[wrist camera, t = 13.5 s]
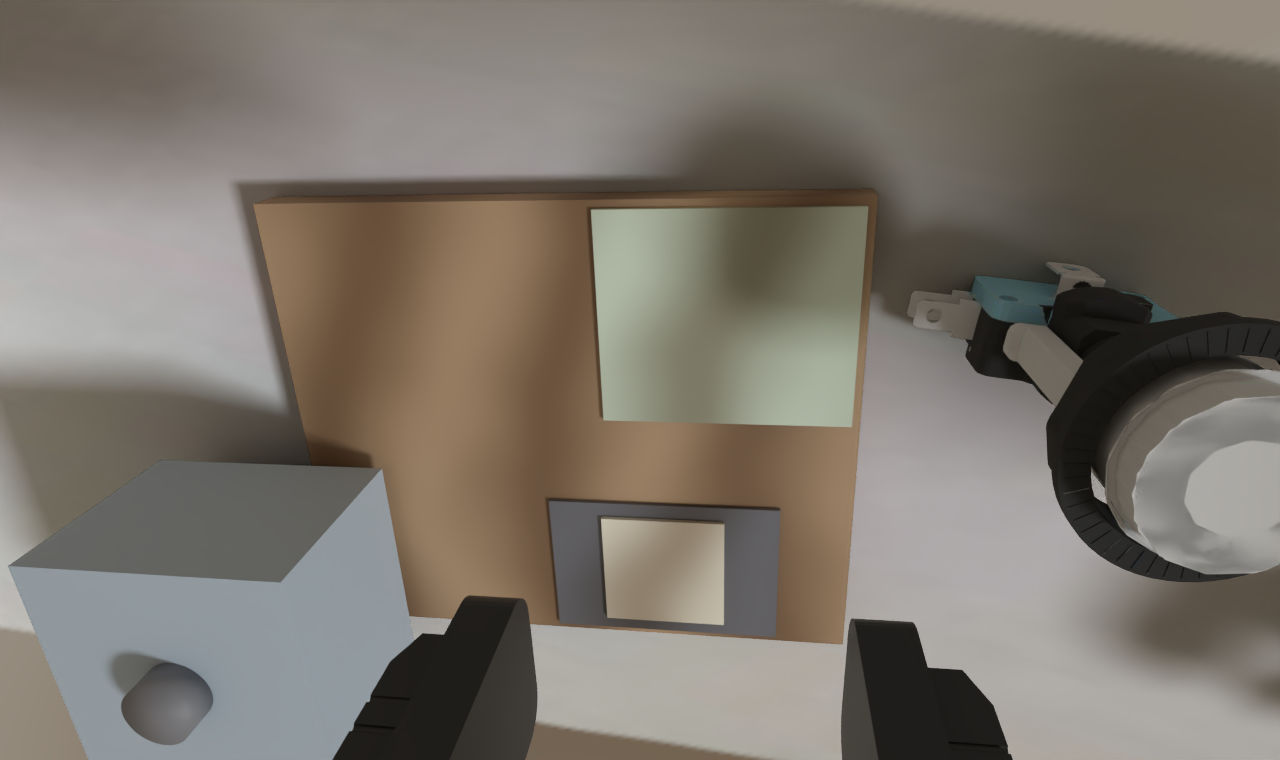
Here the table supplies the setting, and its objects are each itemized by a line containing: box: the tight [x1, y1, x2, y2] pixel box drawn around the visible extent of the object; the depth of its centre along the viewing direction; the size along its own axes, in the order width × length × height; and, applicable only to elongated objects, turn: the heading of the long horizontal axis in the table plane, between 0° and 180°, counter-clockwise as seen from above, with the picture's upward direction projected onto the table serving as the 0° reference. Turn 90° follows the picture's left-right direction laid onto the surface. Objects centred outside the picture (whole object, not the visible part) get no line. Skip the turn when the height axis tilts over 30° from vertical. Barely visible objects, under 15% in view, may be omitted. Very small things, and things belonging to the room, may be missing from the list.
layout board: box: [253, 189, 878, 644], centre depth 25 cm, size 18×15×2 cm
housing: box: [8, 460, 414, 760], centre depth 25 cm, size 8×8×7 cm
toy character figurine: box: [907, 262, 1280, 582], centre depth 18 cm, size 7×5×10 cm
